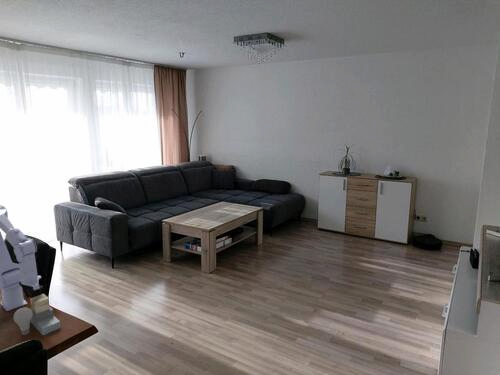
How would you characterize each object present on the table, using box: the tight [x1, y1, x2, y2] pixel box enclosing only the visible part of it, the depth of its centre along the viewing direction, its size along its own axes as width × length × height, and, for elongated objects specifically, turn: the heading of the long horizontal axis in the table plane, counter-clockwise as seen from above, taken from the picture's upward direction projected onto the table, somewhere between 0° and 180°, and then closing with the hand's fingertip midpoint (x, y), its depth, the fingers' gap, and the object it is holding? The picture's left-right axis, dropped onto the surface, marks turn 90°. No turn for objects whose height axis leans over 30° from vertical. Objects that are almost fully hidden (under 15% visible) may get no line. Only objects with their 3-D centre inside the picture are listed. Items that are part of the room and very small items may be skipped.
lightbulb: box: [13, 306, 33, 336], centre depth 137 cm, size 6×6×11 cm
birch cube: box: [29, 293, 51, 315], centre depth 144 cm, size 5×5×5 cm
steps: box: [28, 306, 62, 336], centre depth 144 cm, size 14×6×6 cm, turn 49°
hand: (32, 300), depth 150 cm, fingers open, 7 cm apart
